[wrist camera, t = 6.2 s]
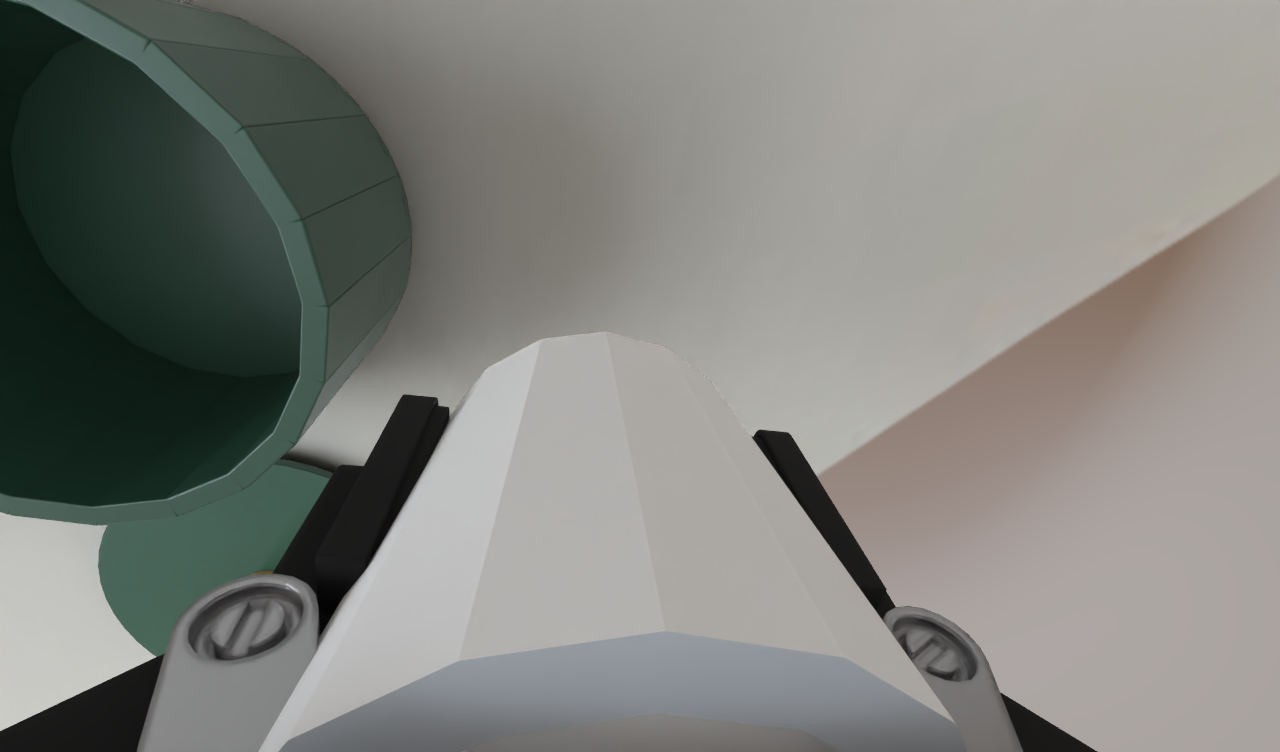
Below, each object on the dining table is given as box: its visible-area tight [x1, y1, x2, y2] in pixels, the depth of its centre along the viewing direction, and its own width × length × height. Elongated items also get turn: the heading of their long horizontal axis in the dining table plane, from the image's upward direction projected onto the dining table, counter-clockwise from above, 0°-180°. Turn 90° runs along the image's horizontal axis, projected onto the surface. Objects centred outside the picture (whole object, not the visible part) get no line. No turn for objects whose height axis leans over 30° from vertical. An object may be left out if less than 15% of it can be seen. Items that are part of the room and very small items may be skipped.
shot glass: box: [258, 331, 968, 752], centre depth 8 cm, size 7×7×7 cm
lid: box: [98, 459, 333, 657], centre depth 28 cm, size 15×15×6 cm
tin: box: [0, 0, 412, 525], centre depth 19 cm, size 14×14×10 cm
